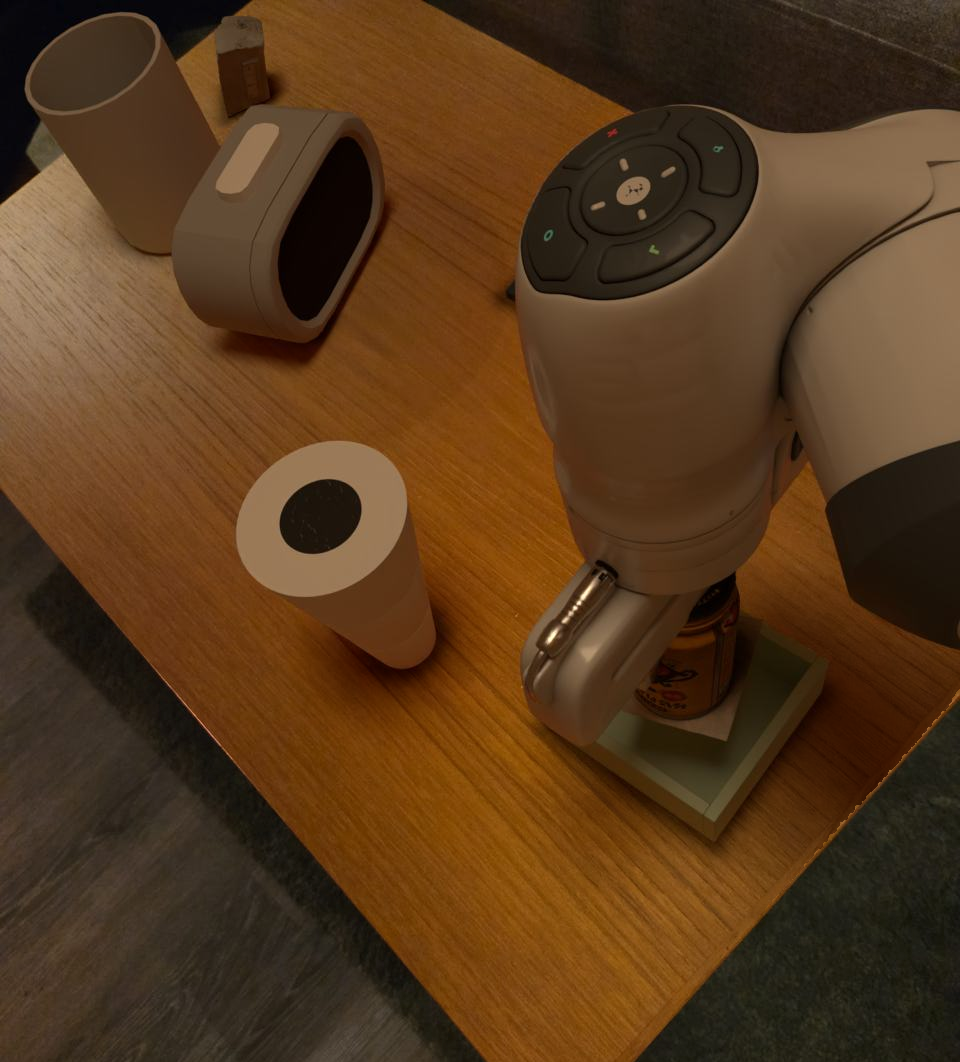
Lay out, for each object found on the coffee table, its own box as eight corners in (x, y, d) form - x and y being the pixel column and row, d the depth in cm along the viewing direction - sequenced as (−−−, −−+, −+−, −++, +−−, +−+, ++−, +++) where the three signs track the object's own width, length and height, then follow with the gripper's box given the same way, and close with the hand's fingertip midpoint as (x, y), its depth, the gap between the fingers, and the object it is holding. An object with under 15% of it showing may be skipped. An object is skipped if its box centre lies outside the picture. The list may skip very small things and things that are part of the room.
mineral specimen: (230, 132, 102) (189, 53, 96) (226, 99, 108) (188, 22, 101) (294, 104, 101) (258, 22, 95) (287, 72, 107) (252, -8, 101)
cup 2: (386, 734, 71) (291, 631, 55) (312, 634, 76) (206, 513, 60) (502, 645, 72) (442, 518, 56) (422, 551, 77) (346, 410, 61)
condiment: (606, 708, 59) (596, 606, 49) (649, 594, 63) (647, 476, 53) (726, 743, 57) (741, 643, 47) (763, 622, 61) (785, 505, 50)
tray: (821, 692, 66) (830, 660, 61) (714, 842, 63) (714, 822, 58) (653, 592, 71) (648, 556, 66) (548, 727, 69) (535, 700, 64)
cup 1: (147, 278, 97) (49, 138, 82) (91, 181, 105) (-7, 39, 91) (260, 211, 97) (182, 59, 83) (195, 119, 105) (114, -32, 91)
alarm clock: (310, 374, 87) (246, 261, 75) (222, 357, 90) (147, 245, 78) (400, 203, 93) (354, 73, 81) (315, 192, 97) (259, 66, 85)
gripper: (580, 715, 39) (616, 804, 51) (859, 350, 43) (831, 514, 55) (461, 635, 42) (522, 738, 54) (734, 298, 45) (733, 466, 58)
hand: (680, 622), depth 55 cm, fingers closed on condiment, 6 cm apart
